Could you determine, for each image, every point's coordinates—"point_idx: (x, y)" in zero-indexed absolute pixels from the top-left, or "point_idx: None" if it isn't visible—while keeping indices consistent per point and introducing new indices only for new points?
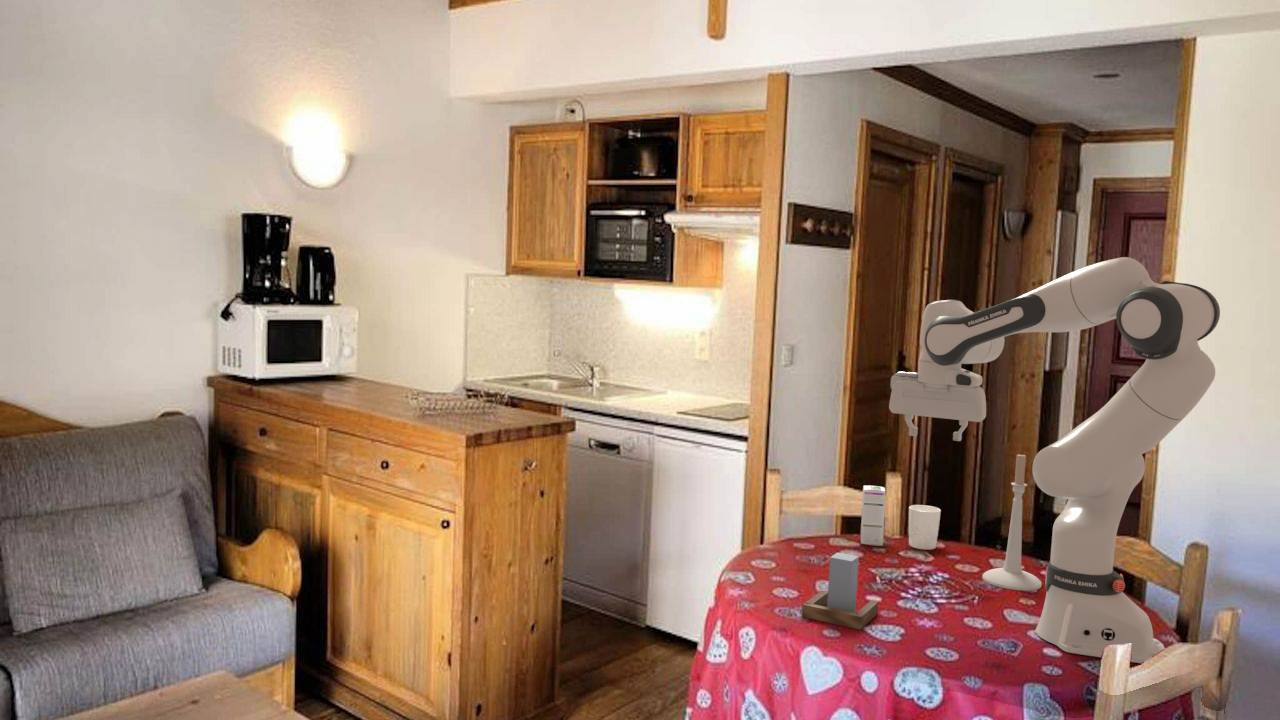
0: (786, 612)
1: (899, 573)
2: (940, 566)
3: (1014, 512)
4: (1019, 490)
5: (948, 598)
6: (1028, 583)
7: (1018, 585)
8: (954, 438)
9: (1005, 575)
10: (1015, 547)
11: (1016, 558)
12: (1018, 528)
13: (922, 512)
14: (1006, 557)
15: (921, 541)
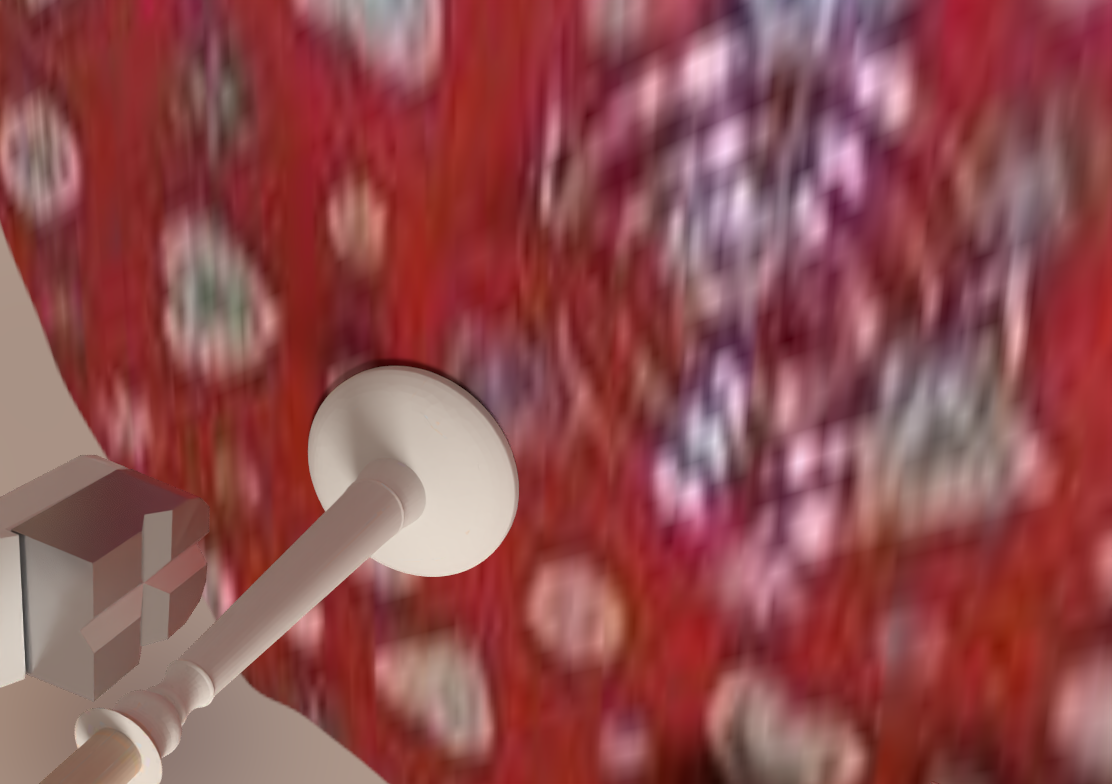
0: None
1: (886, 448)
2: (683, 605)
3: (243, 624)
4: (135, 699)
5: (670, 120)
6: (344, 399)
7: (381, 378)
8: (154, 492)
9: (419, 438)
10: (330, 517)
11: (349, 493)
12: (271, 570)
13: None
14: (390, 512)
15: None
